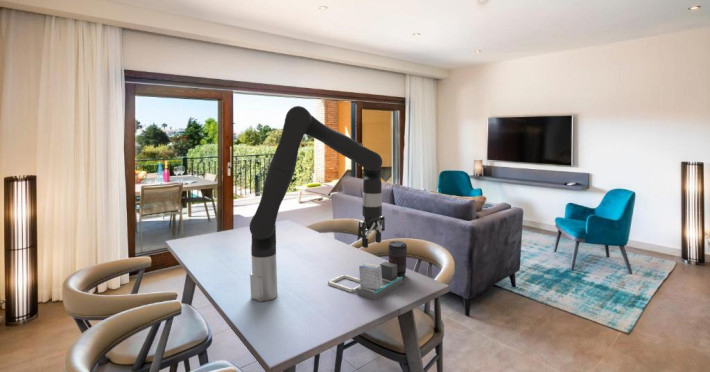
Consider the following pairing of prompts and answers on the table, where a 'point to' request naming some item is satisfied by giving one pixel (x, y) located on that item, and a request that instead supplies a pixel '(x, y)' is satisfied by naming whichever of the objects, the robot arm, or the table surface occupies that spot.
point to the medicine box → (370, 276)
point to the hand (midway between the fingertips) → (371, 244)
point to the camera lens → (398, 256)
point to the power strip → (383, 282)
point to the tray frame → (344, 286)
